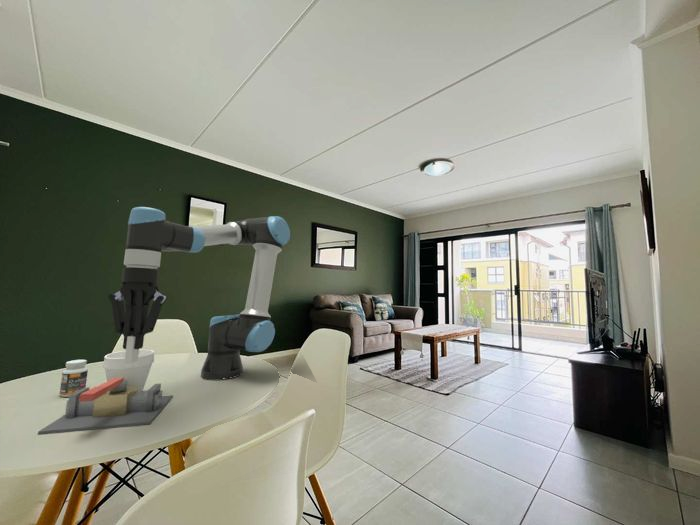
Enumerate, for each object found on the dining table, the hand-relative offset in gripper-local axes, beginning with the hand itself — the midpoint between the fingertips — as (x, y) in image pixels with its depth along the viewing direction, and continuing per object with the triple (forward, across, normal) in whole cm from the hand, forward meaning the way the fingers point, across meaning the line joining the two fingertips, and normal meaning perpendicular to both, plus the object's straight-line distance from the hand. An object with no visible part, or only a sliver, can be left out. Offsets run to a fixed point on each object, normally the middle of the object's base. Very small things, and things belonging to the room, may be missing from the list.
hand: (131, 362), depth 70 cm
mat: (+15, +7, -8) cm, 19 cm away
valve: (+15, +7, -8) cm, 19 cm away
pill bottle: (+15, +29, -22) cm, 40 cm away
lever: (+9, +7, -3) cm, 12 cm away
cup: (+16, +11, -18) cm, 26 cm away
